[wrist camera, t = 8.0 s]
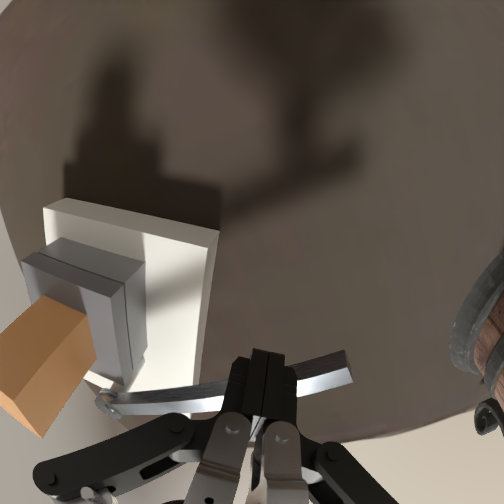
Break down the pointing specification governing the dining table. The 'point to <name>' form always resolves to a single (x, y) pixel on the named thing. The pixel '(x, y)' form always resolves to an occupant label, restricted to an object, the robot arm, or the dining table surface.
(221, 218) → the dining table surface
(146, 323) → the socket block
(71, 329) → the plug
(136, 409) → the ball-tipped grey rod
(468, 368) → the tankard
